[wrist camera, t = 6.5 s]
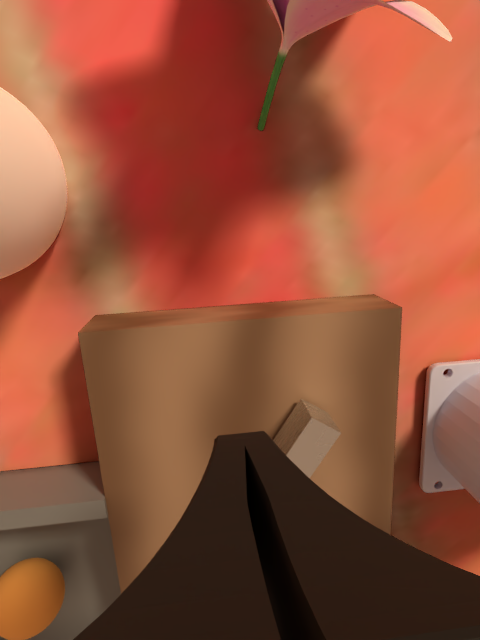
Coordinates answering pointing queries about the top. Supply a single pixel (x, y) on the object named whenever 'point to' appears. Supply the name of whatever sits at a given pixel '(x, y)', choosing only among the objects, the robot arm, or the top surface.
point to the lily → (326, 8)
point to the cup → (27, 187)
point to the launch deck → (236, 402)
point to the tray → (62, 538)
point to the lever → (307, 436)
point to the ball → (29, 598)
